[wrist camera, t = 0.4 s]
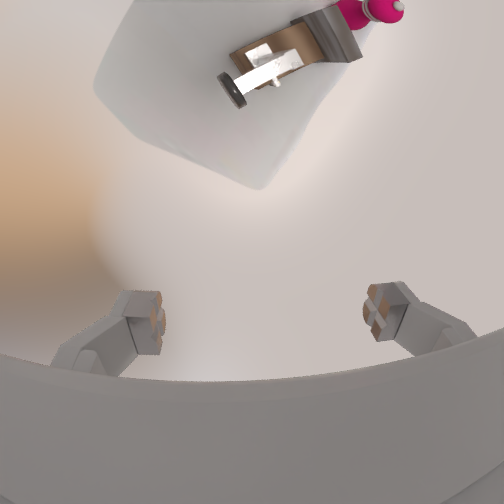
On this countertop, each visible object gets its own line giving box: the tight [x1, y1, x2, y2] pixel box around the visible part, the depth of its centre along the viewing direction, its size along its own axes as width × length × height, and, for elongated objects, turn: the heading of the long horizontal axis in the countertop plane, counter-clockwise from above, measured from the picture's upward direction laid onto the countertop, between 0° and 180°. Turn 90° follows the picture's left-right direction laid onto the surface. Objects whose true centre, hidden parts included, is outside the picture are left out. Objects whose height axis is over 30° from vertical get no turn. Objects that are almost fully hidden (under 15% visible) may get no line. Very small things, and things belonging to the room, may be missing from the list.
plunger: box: [217, 43, 304, 109], centre depth 35 cm, size 11×8×20 cm
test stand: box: [230, 5, 363, 90], centre depth 38 cm, size 17×10×14 cm, turn 120°
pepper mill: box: [332, 0, 404, 30], centre depth 32 cm, size 7×7×20 cm
